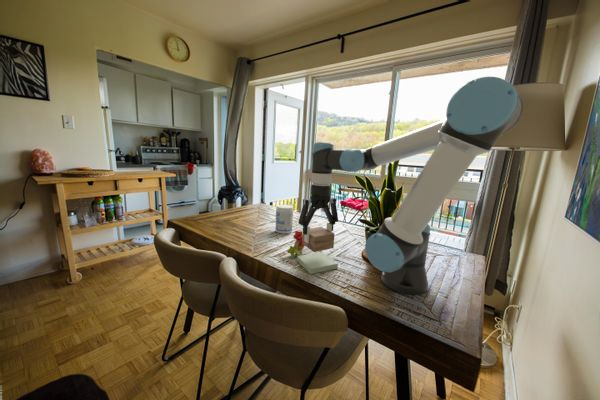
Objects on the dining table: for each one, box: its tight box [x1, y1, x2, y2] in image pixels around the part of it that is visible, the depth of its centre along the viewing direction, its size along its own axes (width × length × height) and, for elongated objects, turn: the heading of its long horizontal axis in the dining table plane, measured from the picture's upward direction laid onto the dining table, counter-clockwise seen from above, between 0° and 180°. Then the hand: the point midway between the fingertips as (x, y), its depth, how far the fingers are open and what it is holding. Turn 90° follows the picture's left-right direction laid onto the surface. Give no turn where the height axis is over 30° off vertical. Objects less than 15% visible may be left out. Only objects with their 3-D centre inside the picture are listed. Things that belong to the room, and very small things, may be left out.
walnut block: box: [302, 226, 335, 253], centre depth 96 cm, size 9×9×6 cm
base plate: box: [296, 251, 339, 275], centre depth 98 cm, size 12×12×2 cm
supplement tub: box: [275, 204, 294, 235], centre depth 136 cm, size 10×10×15 cm
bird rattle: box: [287, 230, 306, 256], centre depth 107 cm, size 6×11×9 cm
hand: (317, 240), depth 96 cm, fingers closed on walnut block, 9 cm apart
